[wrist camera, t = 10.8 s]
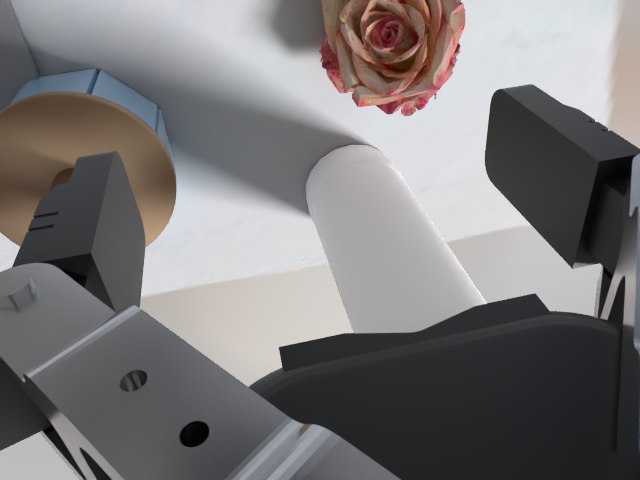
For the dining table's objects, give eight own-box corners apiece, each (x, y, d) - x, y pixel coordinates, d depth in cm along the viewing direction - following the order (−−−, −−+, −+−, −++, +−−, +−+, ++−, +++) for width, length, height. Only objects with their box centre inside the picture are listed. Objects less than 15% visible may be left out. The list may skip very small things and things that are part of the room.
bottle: (287, 208, 46) (403, 600, 22) (331, 127, 42) (526, 486, 18) (366, 236, 49) (542, 601, 25) (413, 163, 46) (668, 504, 22)
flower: (487, 12, 38) (491, -19, 30) (428, 135, 40) (419, 135, 33) (363, -38, 39) (337, -80, 32) (313, 84, 42) (279, 72, 34)
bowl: (-24, 85, 35) (-51, 115, 31) (147, 60, 37) (143, 86, 33) (41, 224, 42) (26, 263, 38) (184, 199, 43) (184, 234, 39)
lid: (-64, 108, 31) (-108, 154, 26) (149, 76, 32) (143, 115, 28) (22, 270, 38) (-1, 329, 33) (193, 238, 40) (195, 291, 35)
